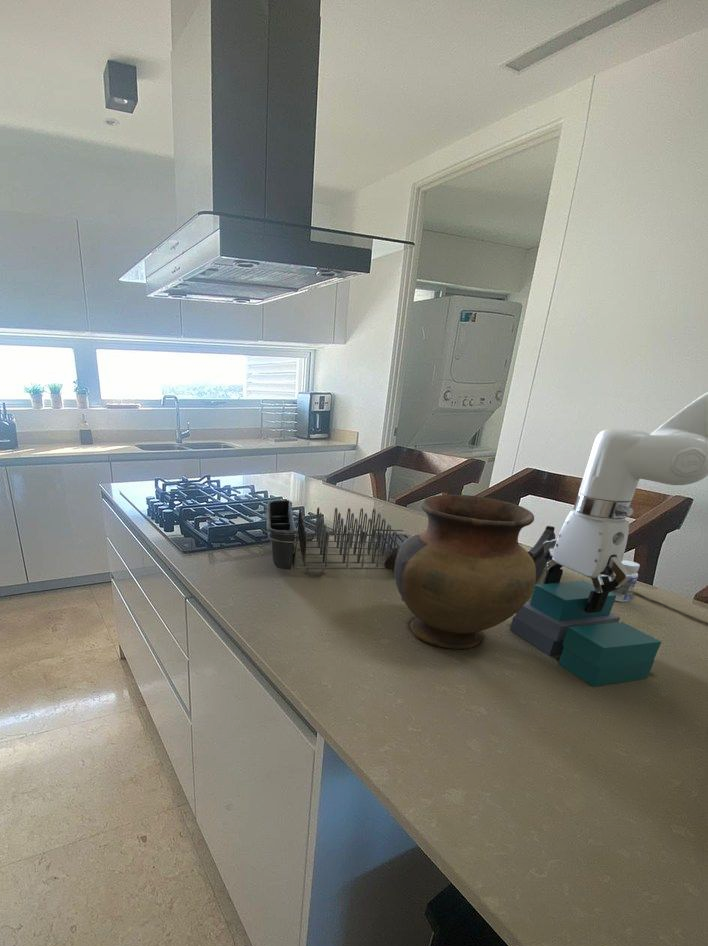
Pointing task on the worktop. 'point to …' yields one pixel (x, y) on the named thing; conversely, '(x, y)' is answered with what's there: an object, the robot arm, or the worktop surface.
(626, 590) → the pill bottle
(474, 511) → the pot
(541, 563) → the magazine
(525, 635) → the grey stack
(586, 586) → the teal block
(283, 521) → the dish rack
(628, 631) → the teal stack
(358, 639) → the worktop surface
